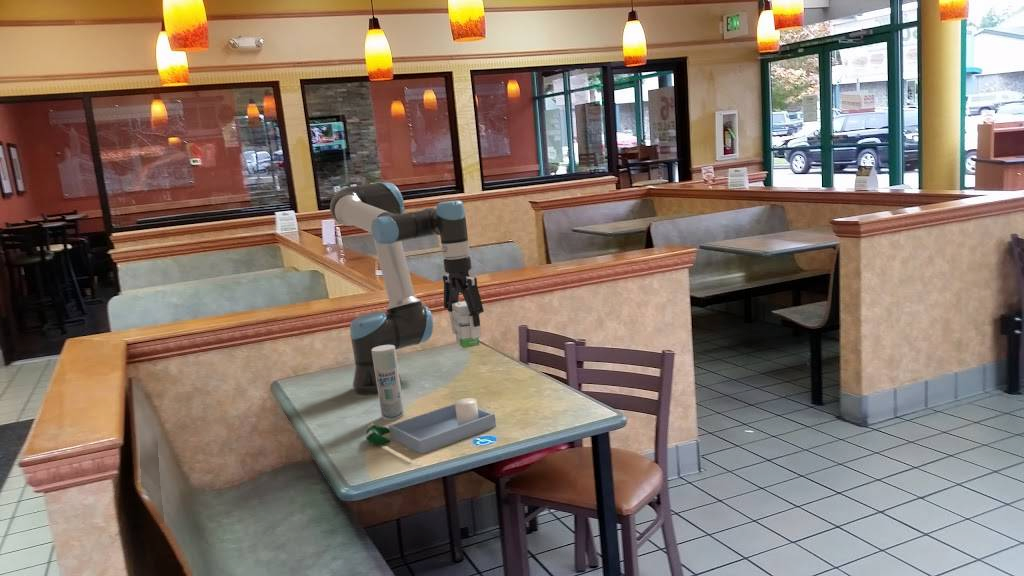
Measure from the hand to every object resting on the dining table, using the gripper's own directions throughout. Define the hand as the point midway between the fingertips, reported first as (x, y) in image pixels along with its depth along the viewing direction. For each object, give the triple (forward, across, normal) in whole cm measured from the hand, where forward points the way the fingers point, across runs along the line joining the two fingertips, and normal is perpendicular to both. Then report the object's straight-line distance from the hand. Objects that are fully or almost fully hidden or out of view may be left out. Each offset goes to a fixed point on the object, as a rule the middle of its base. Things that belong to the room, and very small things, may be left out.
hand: (466, 335), depth 215 cm
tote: (+20, +15, -20) cm, 32 cm away
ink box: (+3, 0, 0) cm, 3 cm away
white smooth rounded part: (+19, +18, -14) cm, 30 cm away
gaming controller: (+20, +4, -33) cm, 39 cm away
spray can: (+20, -9, -22) cm, 31 cm away
